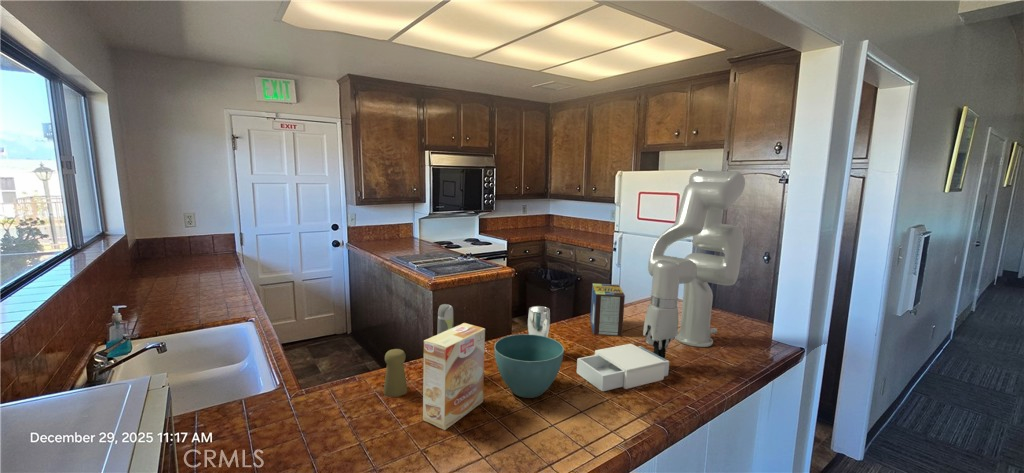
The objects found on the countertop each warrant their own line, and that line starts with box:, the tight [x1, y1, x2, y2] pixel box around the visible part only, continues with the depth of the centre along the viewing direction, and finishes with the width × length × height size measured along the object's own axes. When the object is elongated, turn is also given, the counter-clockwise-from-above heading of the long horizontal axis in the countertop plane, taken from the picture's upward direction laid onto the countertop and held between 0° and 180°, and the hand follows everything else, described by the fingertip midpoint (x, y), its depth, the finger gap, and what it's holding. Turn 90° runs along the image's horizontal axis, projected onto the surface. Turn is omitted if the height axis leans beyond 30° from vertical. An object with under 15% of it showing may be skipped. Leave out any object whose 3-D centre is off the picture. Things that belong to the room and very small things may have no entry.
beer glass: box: [527, 305, 551, 337], centre depth 136 cm, size 7×7×15 cm
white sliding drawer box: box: [576, 345, 670, 392], centre depth 125 cm, size 24×12×4 cm, turn 116°
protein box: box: [589, 283, 626, 337], centre depth 162 cm, size 10×15×16 cm
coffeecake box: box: [422, 322, 486, 431], centre depth 102 cm, size 15×7×20 cm, turn 148°
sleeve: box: [594, 343, 665, 390], centre depth 126 cm, size 14×14×6 cm
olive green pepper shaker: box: [382, 348, 408, 398], centre depth 111 cm, size 6×6×11 cm
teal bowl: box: [493, 333, 565, 399], centre depth 113 cm, size 18×18×12 cm
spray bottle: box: [436, 303, 455, 335], centre depth 121 cm, size 5×5×20 cm
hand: (658, 359), depth 131 cm, fingers closed
